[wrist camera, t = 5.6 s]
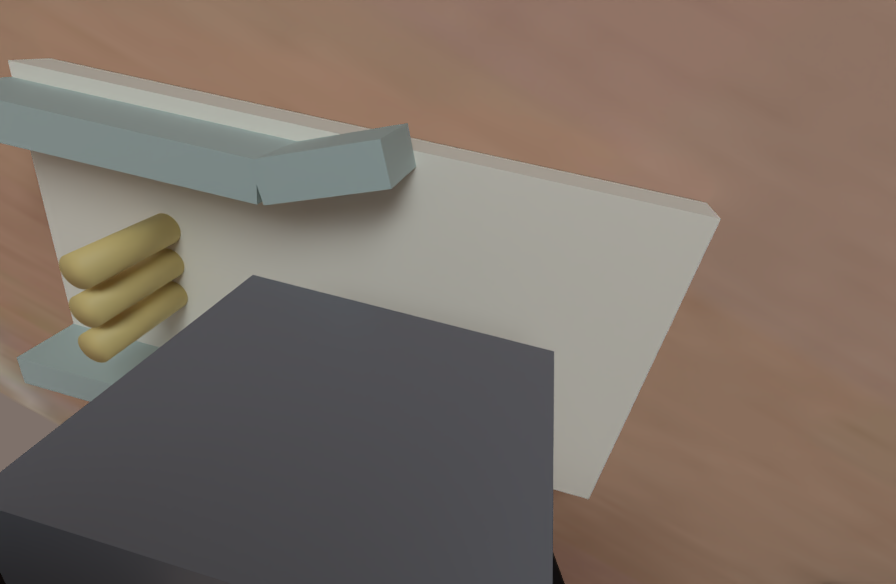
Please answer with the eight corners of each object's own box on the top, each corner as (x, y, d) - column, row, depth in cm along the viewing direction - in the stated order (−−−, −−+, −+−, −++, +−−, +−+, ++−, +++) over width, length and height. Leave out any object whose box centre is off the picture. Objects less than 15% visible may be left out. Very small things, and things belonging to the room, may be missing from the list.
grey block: (554, 350, 8) (551, 686, 4) (481, 562, 11) (435, 884, 7) (253, 275, 9) (-35, 499, 5) (259, 496, 12) (89, 758, 8)
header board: (716, 179, 12) (789, 245, 8) (581, 481, 17) (588, 604, 13) (45, 35, 13) (-149, 34, 10) (111, 350, 19) (2, 427, 15)
